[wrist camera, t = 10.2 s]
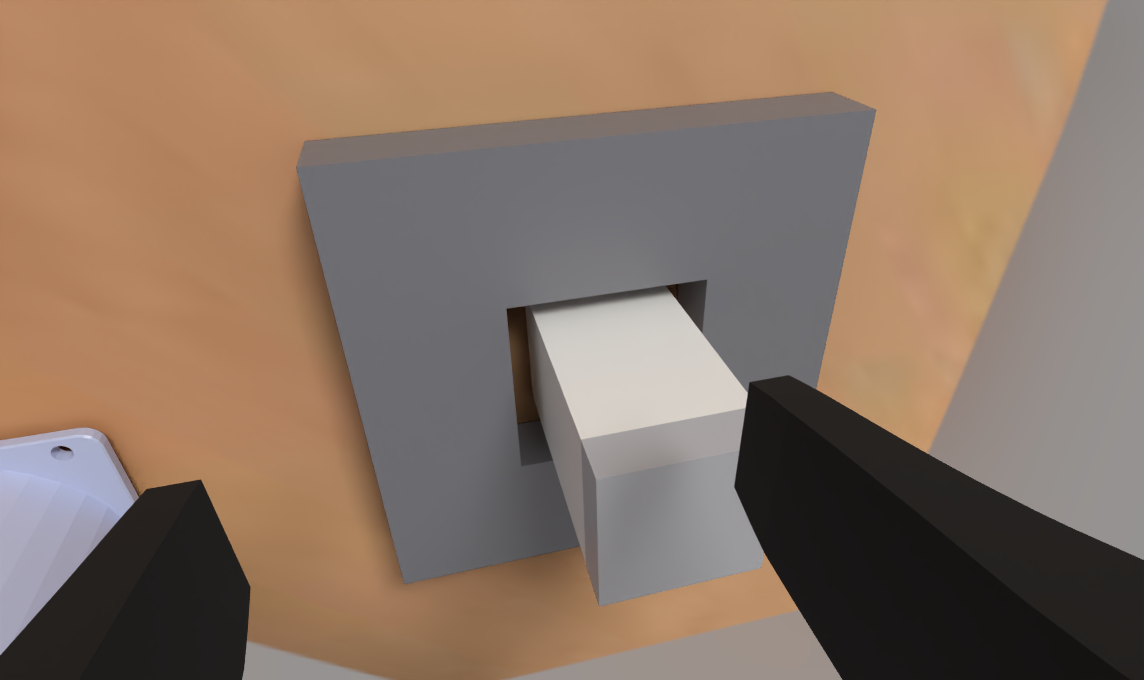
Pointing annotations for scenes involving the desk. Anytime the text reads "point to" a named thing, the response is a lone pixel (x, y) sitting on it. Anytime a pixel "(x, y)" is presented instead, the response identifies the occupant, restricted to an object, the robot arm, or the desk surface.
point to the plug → (642, 440)
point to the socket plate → (563, 281)
